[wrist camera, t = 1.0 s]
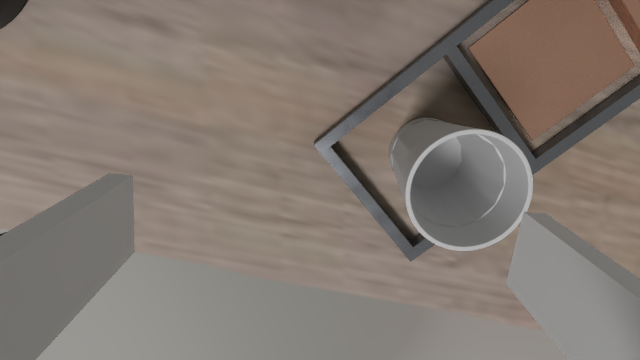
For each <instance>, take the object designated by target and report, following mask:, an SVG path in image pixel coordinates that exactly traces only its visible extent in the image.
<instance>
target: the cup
mask: <svg viewBox="0 0 640 360" xmlns="http://www.w3.org/2000/svg"><path fill="white" fill-rule="evenodd" d="M389 159H390V164H391V167H392V169H393V171H394V172H395V175H396V178H397V181H398V184H399V186H400V189H401V192H402V195H403V198H404V201H405V205H406V208H407V211H408V214H409V217H410V219H411V221H412V223H413V224H414V226H415V227H416V229H417V230H418V231H419V232H420V233H421V234H422V235H423V236H424V237H425V238H426V239H428V240H429V241H431V242H432V243H434V244H436V245H438V246H440V247H443V248H446V249H450V250H457V251H470V250H477V249H481V248H484V247H487V246H490V245H492V244H494V243H496V242H498V241H500V240H501V239H503V238H504V237H506V236H507V235H508V234H510V233H511V232H512V231H513V230H514V229H515V228H516V227H517V225H518V224H519V223H520V222H521V220H522V216H523V212H527V210H528V207H529V205H530V202H531V198H532V193H533V176H532V171H531V168H530V165H529V162H528V160H527V158H526V156H525V155H524V153H523V152H522V151H521V149H520V148H519V147H518V146H517V145H516V144H515V143H514V142H512V141H511V140H510V139H508V138H507V137H505V136H503V135H501V134H499V133H496V132H493V131H489V130H484V129H478V128H472V127H467V126H461V125H457V124H452V123H447V122H443V121H441V120H439V119H435V118H428V117H426V118H418V119H415V120H412V121H410V122H408V123H407V124H405V125H404V126H403V127H401V128H400V129H399V130H398V132H397V133H396V134H395V136H394V138H393V140H392V142H391V145H390V150H389Z"/></svg>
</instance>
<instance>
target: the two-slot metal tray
mask: <svg viewBox="0 0 640 360" xmlns="http://www.w3.org/2000/svg"><path fill="white" fill-rule="evenodd" d="M512 1H514V0H489V1H488V2H487V3H486V4H484V5H483V6H482V7H481V8H479V9H478V10H477V11H476V12H474V13H473V14H472V15H471V16H470V17H468V18H467V19H466V20H465V21H463V22H462V23H461V24H460V25H458V26H457V27H456V28H455V29H453V30H452V31H451V32H450V33H448V34H447V35H446V36H445V37H443V38H442V39H441V40H440V41H439V42H437V43H436V44H435V45H434V46H432V47H431V48H430V49H429V50H427V51H426V52H425V53H424V54H422V55H421V56H420V57H419V58H417V59H416V60H415V61H414V62H412V63H411V64H410V65H409V66H408V67H406V68H405V69H404V70H403V71H401V72H400V73H399V74H398V75H396V76H395V77H394V78H393V79H391V80H390V81H389V82H388V83H386V84H385V85H384V86H383V87H382V88H380V89H379V90H378V91H377V92H375V93H374V94H373V95H372V96H370V97H369V98H368V99H367V100H365V101H364V102H363V103H362V104H360V105H359V106H358V107H357V108H355V109H354V110H353V111H352V112H351V113H349V114H348V115H347V116H346V117H344V118H343V119H342V120H341V121H339V122H338V123H337V124H336V125H334V126H333V127H332V128H331V129H329V130H328V131H327V132H326V133H324V134H323V135H322V136H321V137H320V138H318V139H317V140H316V141H315V142H314V146H315V147H316V148H317V149H318V151H319V152H320V153H321V154H322V155H323V157H324V158H325V159H326V160H327V162H328V163H329V164H330V165H331V166H332V168H333V169H334V170H335V171H336V172H337V174H338V175H339V176H340V177H341V178H342V180H343V181H344V182H345V183H346V184H347V186H348V187H349V188H350V189H351V190H352V192H353V193H354V194H355V195H356V196H357V198H358V199H359V200H360V201H361V202H362V204H363V205H364V206H365V207H366V208H367V210H368V211H369V212H370V213H371V214H372V216H373V217H374V218H375V219H376V220H377V222H378V223H379V224H380V225H381V227H382V228H383V229H384V230H385V231H386V233H387V234H388V235H389V236H390V237H391V239H392V240H393V241H394V242H395V243H396V245H397V246H398V247H399V248H400V249H401V251H402V252H403V253H404V254H405V255H406V257H407V258H408V259H409V260H410V261H412V260H414V259H415V258H416V257H418V256H419V255H421V254H422V253H423V252H425V251H426V250H428V249H429V248H430V247H432V246H433V245H435V244H434V243H432V242H431V241H429V240H428V239H426V238H425V237H424V236H423V235H422V234H421V233H420V234H419V235H417V236H416V237H414V238H413V239H412V240H409V239H408V238H407V237H406V236H405V234H404V233H403V232H402V231H401V230H400V228H399V227H398V226H397V225H396V223H395V222H394V221H393V220H392V219H391V217H390V216H389V215H388V214H387V212H386V211H385V210H384V209H383V208H382V206H381V205H380V204H379V203H378V201H377V200H376V199H375V198H374V197H373V195H372V194H371V193H370V192H369V190H368V189H367V188H366V187H365V186H364V184H363V183H362V182H361V181H360V180H359V178H358V177H357V176H356V175H355V173H354V172H353V171H352V170H351V169H350V167H349V166H348V165H347V164H346V162H345V161H344V160H343V159H342V158H341V156H340V155H339V154H338V153H337V151H336V150H335V149H334V148H333V147H332V145H333V144H334V143H336V142H337V141H338V140H339V139H341V138H342V137H343V136H344V135H346V134H347V133H348V132H349V131H351V130H352V129H353V128H355V127H356V126H357V125H358V124H360V123H361V122H362V121H363V120H365V119H366V118H367V117H368V116H370V115H371V114H372V113H373V112H375V111H376V110H377V109H378V108H380V107H381V106H382V105H383V104H385V103H386V102H387V101H388V100H390V99H391V98H392V97H393V96H395V95H396V94H397V93H398V92H400V91H401V90H402V89H403V88H405V87H406V86H407V85H408V84H410V83H411V82H412V81H413V80H415V79H416V78H417V77H418V76H420V75H421V74H422V73H423V72H425V71H426V70H427V69H428V68H430V67H431V66H432V65H433V64H435V63H436V62H437V61H438V60H440V59H441V58H442V57H444V59H445V60H446V62H447V63H448V64H449V66H450V67H451V69H452V70H453V72H454V73H455V74H456V76H457V77H458V79H459V80H460V81H461V83H462V84H463V86H464V87H465V88H466V90H467V91H468V93H469V94H470V95H471V97H472V98H473V100H474V101H475V102H476V104H477V105H478V107H479V108H480V109H481V111H482V112H483V114H484V115H485V116H486V118H487V119H488V121H489V122H490V124H491V125H492V126H493V128H494V129H495V131H496V132H497V133H499V134H501V135H503V136H505V137H507V138H508V139H510V140H511V141H512V142H514V143H515V144H516V145H517V146H518V147H519V148H520V149H521V151H522V152H523V153H524V155H525V156H526V158H527V160H528V162H529V165H530V168H531V171H532V175H533V174H534V173H536V172H537V171H538V170H540V169H541V168H543V167H544V166H545V165H547V164H548V163H550V162H551V161H552V160H554V159H555V158H557V157H558V156H559V155H561V154H562V153H564V152H565V151H566V150H568V149H569V148H571V147H572V146H573V145H575V144H576V143H578V142H579V141H580V140H582V139H583V138H585V137H586V136H587V135H589V134H590V133H592V132H593V131H594V130H596V129H597V128H599V127H600V126H601V125H603V124H604V123H606V122H607V121H609V120H610V119H611V118H613V117H614V116H616V115H617V114H618V113H620V112H621V111H623V110H624V109H625V108H627V107H628V106H630V105H631V104H632V103H634V102H635V101H637V100H638V99H639V98H640V75H638V76H637V77H636V78H634V79H633V80H631V81H630V82H629V83H627V84H626V85H625V86H623V87H622V88H620V89H619V90H618V91H616V92H615V93H614V94H612V95H611V96H609V97H608V98H607V99H605V100H604V101H602V102H601V103H600V104H598V105H597V106H596V107H594V108H593V109H591V110H590V111H589V112H587V113H586V114H584V115H583V116H582V117H580V118H579V119H578V120H576V121H575V122H573V123H572V124H571V125H569V126H568V127H566V128H565V129H564V130H562V131H561V132H560V133H558V134H557V135H555V136H554V137H553V138H551V139H550V140H549V141H547V142H546V143H544V144H543V145H542V146H540V147H539V148H537V149H536V150H535V151H533V152H532V153H531V152H530V150H529V149H528V147H527V146H526V145H525V143H524V142H523V140H522V139H521V137H520V136H519V135H518V133H517V132H516V130H515V129H514V127H513V126H512V125H511V123H510V122H509V120H508V119H507V117H506V116H505V114H504V113H503V112H502V110H501V109H500V107H499V106H498V104H497V103H496V102H495V100H494V99H493V97H492V96H491V94H490V93H489V92H488V90H487V89H486V87H485V86H484V84H483V83H482V82H481V80H480V79H479V77H478V76H477V74H476V73H475V72H474V70H473V69H472V67H471V66H470V64H469V63H468V62H467V60H466V59H465V57H464V56H463V54H462V53H461V52H460V50H459V49H458V47H457V45H459V44H460V43H461V42H462V41H464V40H465V39H466V38H467V37H469V36H470V35H471V34H472V33H474V32H475V31H476V30H477V29H479V28H480V27H481V26H482V25H484V24H485V23H486V22H487V21H489V20H490V19H491V18H492V17H494V16H495V15H496V14H497V13H499V12H500V11H501V10H502V9H504V8H505V7H506V6H507V5H509V4H510V3H511V2H512ZM609 1H610V3H611V5H612V6H613V8H614V10H615V12H616V13H617V15H618V17H619V18H620V20H621V22H622V23H623V25H624V27H625V28H626V30H627V32H628V33H629V35H630V37H631V38H632V40H633V42H634V44H635V45H636V47H637V49H638V50H639V52H640V1H639V0H609ZM468 49H469V51H470V52H471V54H472V55H473V56H474V58H475V59H476V61H477V62H478V64H479V65H480V67H481V68H482V69H483V71H484V72H485V74H486V75H487V77H488V78H489V80H490V81H491V82H492V84H493V85H494V87H495V88H496V90H497V91H498V93H499V94H500V95H501V97H502V98H503V100H504V101H505V103H506V104H507V106H508V107H509V108H510V110H511V111H512V113H513V114H514V116H515V117H516V119H517V120H518V121H519V123H520V124H521V126H522V127H523V129H524V130H525V131H526V133H527V134H528V136H529V137H530V139H531V140H534V139H535V138H536V137H538V136H539V135H540V134H542V133H543V132H545V131H546V130H547V129H549V128H550V127H551V126H553V125H554V124H556V123H557V122H558V121H560V120H561V119H562V118H564V117H565V116H567V115H568V114H569V113H571V112H572V111H573V110H575V109H576V108H578V107H579V106H580V105H582V104H583V103H584V102H586V101H587V100H589V99H590V98H591V97H593V96H594V95H595V94H597V93H598V92H600V91H601V90H602V89H604V88H605V87H606V86H608V85H609V84H610V83H612V82H613V81H615V80H616V79H617V78H619V77H620V76H621V75H623V74H624V73H626V72H627V71H628V70H630V69H631V68H632V67H634V65H633V63H632V61H631V60H630V58H629V56H628V55H627V53H626V52H625V50H624V48H623V47H622V45H621V43H620V42H619V40H618V38H617V37H616V35H615V33H614V32H613V30H612V28H611V27H610V25H609V23H608V22H607V20H606V18H605V17H604V15H603V13H602V12H601V10H600V8H599V7H598V5H597V3H596V2H595V0H528V1H527V2H526V3H524V4H523V5H522V6H521V7H519V8H518V9H517V10H516V11H514V12H513V13H512V14H511V15H509V16H508V17H507V18H506V19H504V20H503V21H502V22H500V23H499V24H498V25H497V26H495V27H494V28H493V29H492V30H490V31H489V32H488V33H487V34H485V35H484V36H483V37H482V38H480V39H479V40H478V41H477V42H475V43H474V44H473V45H471V46H470V47H469V48H468Z"/></svg>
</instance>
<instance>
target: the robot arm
mask: <svg viewBox="0 0 640 360" xmlns="http://www.w3.org/2000/svg"><path fill="white" fill-rule="evenodd" d="M25 2H26V0H0V29H1V28H2V27H4V26H5V25H6V24H8V23H9V22H10V21H11V20H12V19H13V18H14V17H15V16H16V15H17V14H18V13H19V11H20V10H21V9H22V7H23V5H24V4H25ZM133 253H134V209H133V176H132V175H121V174H110V173H109V174H107V175H106V176H104V177H102V178H100V179H99V180H97V181H95V182H93V183H92V184H90V185H88V186H87V187H85V188H83V189H81V190H80V191H78V192H76V193H74V194H73V195H71V196H69V197H67V198H66V199H64V200H62V201H60V202H59V203H57V204H55V205H54V206H52V207H50V208H48V209H47V210H45V211H43V212H41V213H40V214H38V215H36V216H34V217H33V218H31V219H29V220H27V221H26V222H24V223H22V224H20V225H19V226H17V227H15V228H14V229H12V230H10V231H8V232H5V233H2V234H0V360H36V359H37V357H39V355H40V354H41V353H42V352H43V351H44V350H45V349H46V348H47V347H48V346H49V345H50V343H51V342H52V341H53V340H54V339H55V338H56V337H57V336H58V335H59V334H60V333H61V331H62V330H63V329H64V328H65V327H66V326H67V325H68V324H69V323H70V322H71V321H72V320H73V318H74V317H75V316H76V315H77V314H78V313H79V312H80V311H81V310H82V309H83V307H84V306H85V305H86V304H87V303H88V302H89V301H90V300H91V299H92V297H94V296H95V294H96V293H97V292H98V291H99V290H100V289H101V288H102V287H103V286H104V284H106V282H107V281H108V280H109V279H110V278H111V277H112V276H113V275H114V274H115V273H116V272H117V270H118V269H119V268H120V267H121V266H122V265H123V264H124V263H125V262H126V260H128V258H129V257H130V256H131V255H132V254H133ZM506 285H507V286H508V287H509V288H510V289H511V291H512V292H513V293H514V294H515V295H516V297H517V298H518V299H519V300H520V301H521V303H522V304H523V305H524V306H525V307H526V309H527V310H528V311H529V312H530V313H531V315H532V316H533V317H534V318H535V319H536V321H537V322H538V323H539V324H540V325H541V327H542V328H543V329H544V330H545V331H546V333H548V335H549V336H550V337H551V339H552V340H553V341H554V342H555V343H556V345H557V346H558V347H559V348H560V350H561V351H562V352H563V353H564V354H565V356H566V357H567V358H568V359H569V360H640V279H639V278H638V277H637V276H635V275H634V274H632V273H631V272H629V271H628V270H626V269H625V268H624V267H622V266H621V265H619V264H618V263H616V262H615V261H613V260H612V259H611V258H609V257H608V256H606V255H605V254H603V253H602V252H600V251H599V250H597V249H596V248H595V247H593V246H592V245H590V244H589V243H587V242H586V241H584V240H583V239H582V238H580V237H579V236H577V235H576V234H574V233H573V232H571V231H570V230H568V229H567V228H566V227H564V226H563V225H561V224H560V223H558V222H557V221H555V220H554V219H553V218H551V217H550V216H548V215H547V214H543V213H532V212H523V216H522V221H521V225H520V229H519V233H518V237H517V241H516V245H515V249H514V253H513V258H512V262H511V266H510V270H509V274H508V278H507V282H506Z"/></svg>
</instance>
